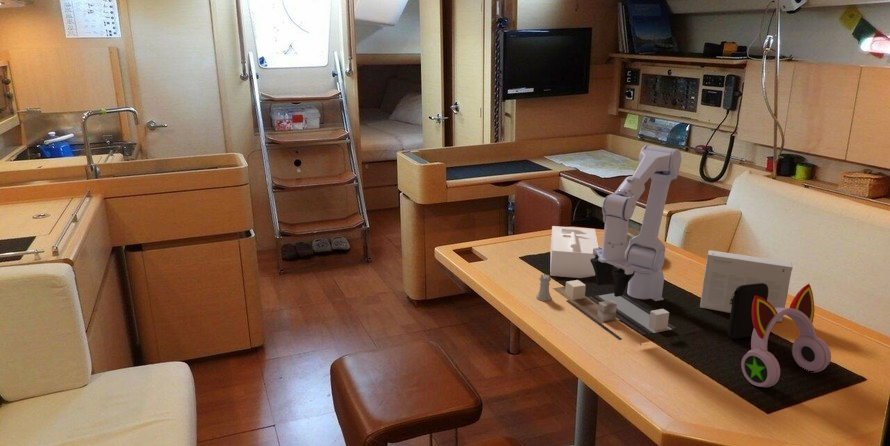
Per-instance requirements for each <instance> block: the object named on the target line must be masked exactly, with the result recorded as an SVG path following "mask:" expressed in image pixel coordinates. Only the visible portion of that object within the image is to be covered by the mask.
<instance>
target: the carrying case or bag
mask: <svg viewBox="0 0 890 446" xmlns="http://www.w3.org/2000/svg"><path fill="white" fill-rule="evenodd" d="M768 292H769V291H768V286H767V285H766V284H765V283H757V284H748V285H741V286H739V287H737V288H736V290H735V292H734V293H733V295H732V298H731V300H730V304H732V307H731V313H729V321H728V326H727V330H726V331H727V333H728V336H729V338H731V339H733V340H736V339H744V338H745V339H746V338H752V333H753V329H754V326H753V322H752V303H753V299H754V297H755V295H756V296H760V297H762V298H764V299H765V300H767V298H768Z"/></svg>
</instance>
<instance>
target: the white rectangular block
mask: <svg viewBox="0 0 890 446" xmlns="http://www.w3.org/2000/svg"><path fill="white" fill-rule="evenodd" d="M596 233H597V232H596V229H595V228H587V227H574V226H573V227H572V226H570V227H569V226H558V225H557V226H556V225H552V226H551V239H550V255H549V256H550V262H549V263H550V264H549V265H550V266H549V267H550V268H549V271H550V273H549V276H550V277H551V276H553V277H562V278H563V277H565V278H576V279H577V278H578V279H583V278H584V279H585V278H589V277H591V278H592V277H596V276H595V271H594V268H593V265H592V263H591V259H592V258H595V256H594V255H593V248H600V247H599V244H598V238H597V234H596Z"/></svg>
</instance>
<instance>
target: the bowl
mask: <svg viewBox="0 0 890 446" xmlns="http://www.w3.org/2000/svg"><path fill="white" fill-rule="evenodd" d="M640 231H641V230H640ZM640 231H639V230H638V229H635V228H634V227H630V226H628V232H627V240H626V249H627V247H628V245H629V241H630V239H632V238H633V237H636V236H638V235H640ZM638 245H640V246H644V247H648V248H652V249H654V248H653V247H649V246H645V245H641V244H638ZM626 249H625V252H626Z"/></svg>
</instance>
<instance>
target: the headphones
mask: <svg viewBox="0 0 890 446" xmlns="http://www.w3.org/2000/svg"><path fill="white" fill-rule="evenodd" d="M782 316H783V317H784V316H787V317H788V318H790V319H791V320H792V321H793V322H794V323H795V325H796V328H797V330H798V332H799V336H798V337H797V338H796V339H795V340H794V341H793V344H792V347H791V353H792V357H793V359H794V361H795V362H796V364H797V365H798V366H799V367H800V368H801V367H802V369H803V368H804V369H803V370H805V369H806V370H805V371H807V370H808V371H807V372H809V371H814V372H813V373H819V372H822V371H824V370H825V369H826V368H827V367H828V366H829V364H830V363H831V361H832V352H831V349H830V347H829V346H828V344H827V343H826V341H825V340H823V339H822V338H821V337H818V336H817V333H816V330H815V329H816V328H815V326H814V324H813V322H814V317H815V299H814V293H813V290H812V287H811V285H810V283H807V284H806V285H804V286H803V287H802V288H801V289H800V290H799V291H798V292H797V293H796V294H795V296H794V298H793V299H792V300H791V303H790V305H789V307H785V308H782V307H773V306H772V305H771V304H770V303H769V302H768V301H767V300H765V299H764V298H762V297H760V296H756V295H755V297H754V299H753V303H752V322H753V326H754V329H753V333H752V337H750V338H751V339H750V348H751V349H750V350H748V351H747V352H746V353H745V354H744V355H743V356H742V358H741V361H740V362H741V364H740V365H741V371H742V375H743V376H744V378H745V379H746V380H747V381H748V382H749V383H750V384H751V385H754V387H755V386H756V387H761V388H770V387H772V386H775V385H776V384H777V383H778V381H779V379H780V376H781V368H780V367H781V366H780V363H779V361H778V359H777V358H776V357H775V355H774V354H773V353H772V352H770V351H768V341H769V337H770V336H769V335H770V334H771V331H772V329H773V328H774V326H775V324H776V323H777V322H778V321H777V320H778V319H779V318H780V317H782Z"/></svg>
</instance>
